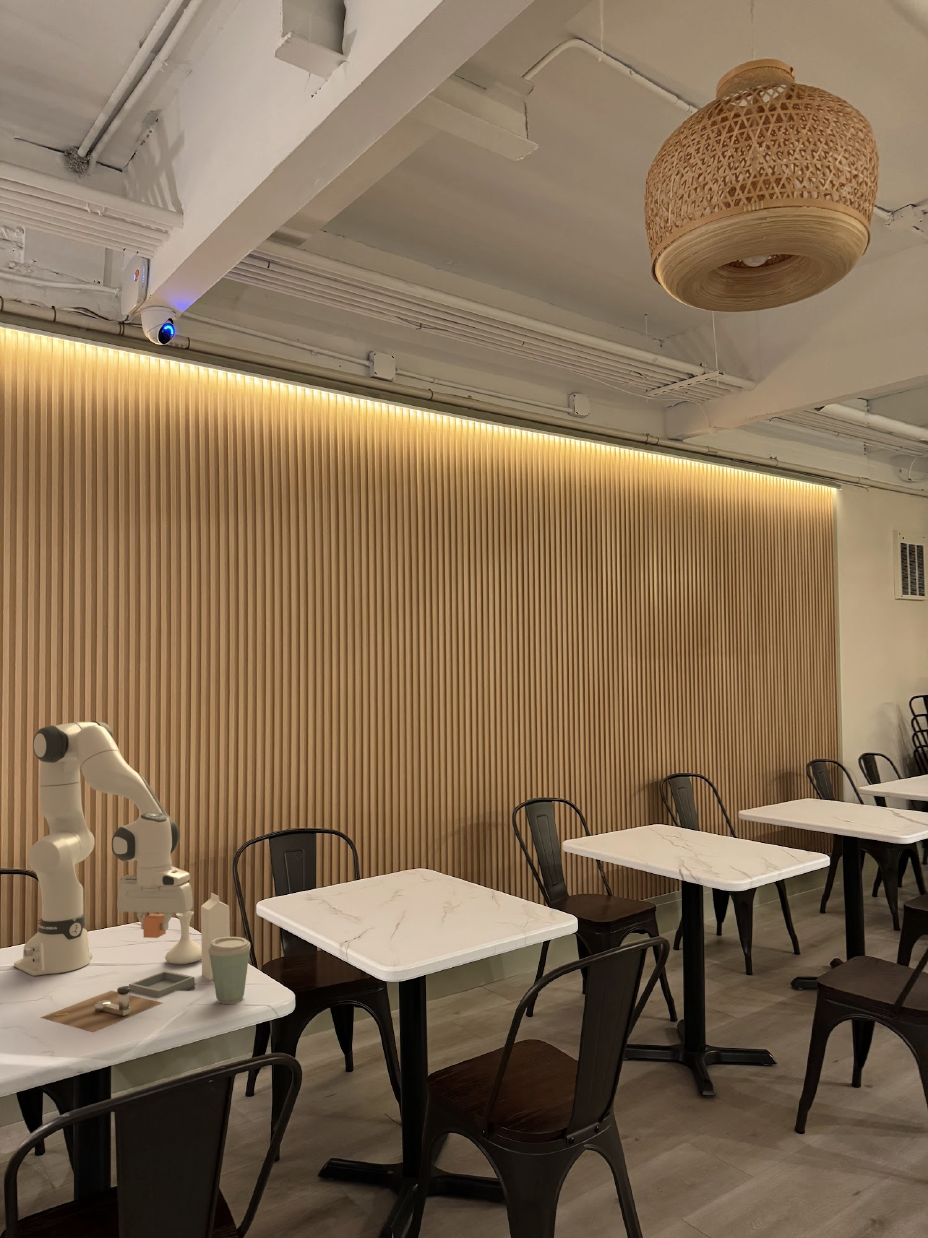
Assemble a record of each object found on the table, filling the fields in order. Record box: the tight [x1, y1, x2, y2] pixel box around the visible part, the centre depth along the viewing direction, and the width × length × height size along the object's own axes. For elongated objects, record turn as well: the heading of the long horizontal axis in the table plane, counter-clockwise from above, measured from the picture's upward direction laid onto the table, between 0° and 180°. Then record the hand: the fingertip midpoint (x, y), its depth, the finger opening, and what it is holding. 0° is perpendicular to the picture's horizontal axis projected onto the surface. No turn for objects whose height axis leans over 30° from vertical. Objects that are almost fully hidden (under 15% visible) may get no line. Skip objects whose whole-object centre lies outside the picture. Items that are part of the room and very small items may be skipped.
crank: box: [95, 985, 132, 1016], centre depth 214 cm, size 11×4×6 cm, turn 59°
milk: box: [200, 892, 231, 981], centre depth 244 cm, size 6×6×22 cm
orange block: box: [142, 913, 167, 939], centre depth 230 cm, size 4×4×5 cm
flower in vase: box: [164, 910, 202, 965], centre depth 256 cm, size 13×11×25 cm
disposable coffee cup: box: [208, 936, 252, 1005], centre depth 224 cm, size 11×11×15 cm
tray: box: [128, 970, 196, 998], centre depth 231 cm, size 12×12×3 cm
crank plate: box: [40, 990, 163, 1033], centre depth 215 cm, size 20×20×2 cm
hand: (154, 929), depth 230 cm, fingers closed on orange block, 4 cm apart
